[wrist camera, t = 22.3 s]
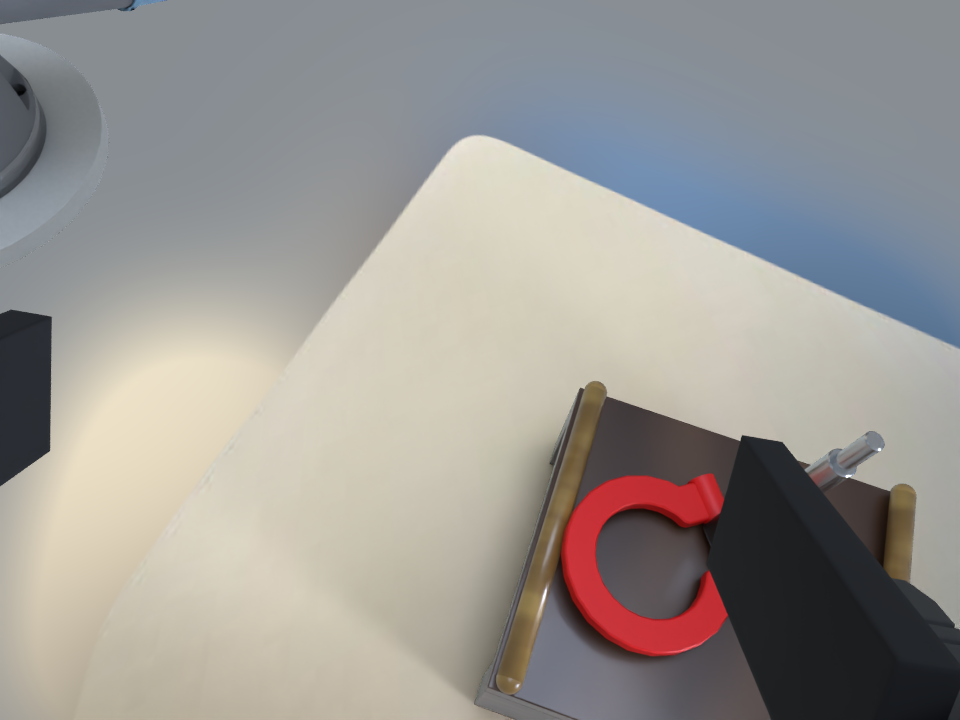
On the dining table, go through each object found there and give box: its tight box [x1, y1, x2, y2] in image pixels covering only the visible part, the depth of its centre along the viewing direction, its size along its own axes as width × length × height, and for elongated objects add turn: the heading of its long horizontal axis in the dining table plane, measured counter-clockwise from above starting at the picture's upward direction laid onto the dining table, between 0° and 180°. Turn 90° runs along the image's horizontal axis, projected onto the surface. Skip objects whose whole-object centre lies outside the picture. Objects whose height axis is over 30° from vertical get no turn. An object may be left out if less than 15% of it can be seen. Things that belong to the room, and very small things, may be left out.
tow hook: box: [561, 431, 884, 656], centre depth 34 cm, size 8×13×9 cm
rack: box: [474, 381, 916, 720], centre depth 43 cm, size 18×16×10 cm
